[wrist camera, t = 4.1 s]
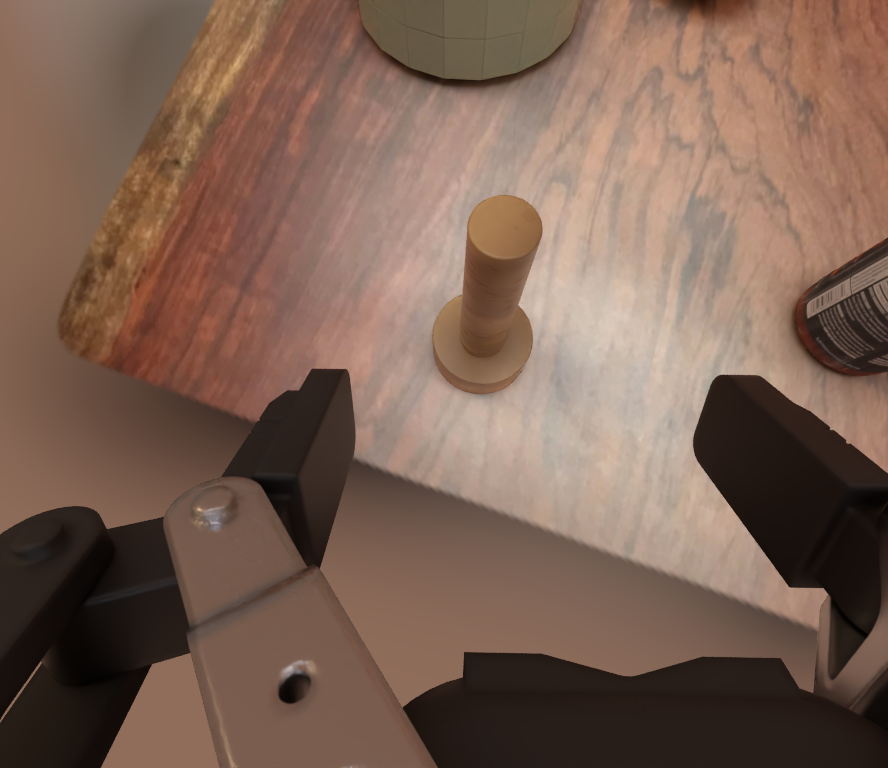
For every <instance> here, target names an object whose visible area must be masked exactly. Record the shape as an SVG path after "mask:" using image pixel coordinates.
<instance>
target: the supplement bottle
mask: <svg viewBox="0 0 888 768" xmlns="http://www.w3.org/2000/svg"><path fill="white" fill-rule="evenodd" d="M796 326H797V327H796V329H797V330H798V334H799V337H800V339H801V341H802V342H803V344H804V345H805V347H806V348H807V350H808V351H810V353H811V354H812V355H813V356H814V357H815V358H816V359H818V361H819V362H821V363H823V364H824V365H826V366H828V367H830V368H832V369H834V370H836V371H839V372H842V373H845V374H850V375H858V376H868V375H875V374H879V373H883V372H888V238H886V239H885V240H883V241H881V242H880V243H878V244H877V245H875V246H873V247H872V248H870V249H869V250H867V251H865V252H864V253H862V254H861V255H859V256H857V257H855V258H854V259H852V260H851V261H849V262H847V263H846V264H845V265H843V266H841V267H840V268H838V269H836V270H834V271H833V272H831V273H830V274H828V275H827V276H825V277H823V278H822V279H821V280H819V281H818V282H817V283H815V284H814V285H812V286H811V287H810V288H809V289H808V290H807V291H806V292H805V293H804V294H803V296H802V297H801V298H800V299H799V301H798V305H797V309H796Z"/></svg>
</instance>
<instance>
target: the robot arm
mask: <svg viewBox="0 0 888 768" xmlns="http://www.w3.org/2000/svg"><path fill="white" fill-rule="evenodd" d="M355 437H356V435H355V421H354V412H353V402H352V393H351V384H350V377H349V373H348V371H347V369H312V370H311V371H310V373H309V374H308V376H307V378H306V380H305V381H304V383H303V385H302V387H301V388H300V390H299V391H290V390H287V391H286V392H285V393H283V394H282V395H280V396H279V397H277V398H276V399H275V400H273V401H272V402H270V403H269V405H268V406H267V408H266V409H265V411H264V412H263V414H262V415H261V417H260V421H257V423H256V425H255V426H254V428H253V429H252V433H251V434H249V435H248V437H247V438H246V440H245V441H244V443H243V444H242V446H241V448H240V449H239V450H238V452H237V454H236V455H235V457H234V458H233V460H232V461H231V463H230V464H229V466H228V467H227V469H226V470H225V472H224V473H223V475H222V477H221V478H217V479H213V480H210V481H206V482H204V483H201V484H199V485H197V486H195V487H193V488H191V489H190V490H188V491H186V492H185V493H183V494H182V495H181V496H180V497H178V498H177V499H176V500H175V501H174V502H173V503H172V504H171V506H170V507H169V509H168V510H167V512H166V514H165V516H164V517H161V518H157V519H153V520H148V521H144V522H139V523H135V524H129V525H125V526H120V527H115V528H111V529H106V527H105V525H104V523H103V521H102V519H101V517H100V515H99V514H98V513H97V512H96V511H95V510H93V509H90V508H87V507H79V506H72V507H63V508H57V509H54V510H50V511H46V512H43V513H40V514H37V515H35V516H32V517H30V518H28V519H26V520H24V521H22V522H20V523H18V524H16V525H14V526H13V527H11V528H9V529H8V530H6V531H5V532H3V533H2V534H0V719H1V717H2V716H3V714H4V713H5V711H6V709H7V708H8V707H9V705H10V704H11V702H12V701H13V700H14V698H15V697H16V695H17V694H18V692H19V691H20V690H21V688H22V687H23V685H24V684H25V683H26V681H27V680H28V678H29V677H30V675H31V673H32V672H33V671H34V670H35V668H36V667H37V666H38V664H39V663H40V661H41V662H42V664H41V665H40V667H39V668H38V670H37V671H36V673H35V674H34V675H33V677H32V678H31V680H30V681H29V683H28V684H27V685H26V687H25V688H24V690H23V691H22V693H21V694H20V696H19V697H18V698H17V700H16V701H15V703H14V704H13V705H12V707H11V708H10V710H9V711H8V713H7V714H6V715H5V717H4V718H3V720H2V721H1V723H0V768H101V766H102V764H103V762H104V760H105V758H106V756H107V754H108V752H109V750H110V748H111V746H112V744H113V742H114V740H115V738H116V736H117V734H118V732H119V730H120V728H121V726H122V724H123V722H124V720H125V718H126V716H127V713H128V712H129V710H130V708H131V706H132V704H133V702H134V700H135V698H136V696H137V694H138V691H139V689H140V687H141V685H142V683H143V681H144V679H145V677H146V675H147V673H148V671H149V669H150V667H151V665H152V664H154V663H157V662H161V661H164V660H167V659H171V658H174V657H178V656H181V655H185V654H188V653H191V657H192V661H193V665H194V668H195V673H196V676H197V680H198V684H199V688H200V692H201V696H202V700H203V704H204V708H205V711H206V715H207V720H208V724H209V727H210V731H211V735H212V739H213V743H214V747H215V751H216V755H217V759H218V762H219V767H220V768H888V473H886V472H885V471H884V470H883V469H882V468H880V467H879V466H878V465H877V464H875V463H874V462H873V461H872V460H870V459H869V458H868V457H867V456H865V455H864V454H863V453H862V452H860V451H859V450H858V449H857V448H855V447H854V446H853V445H852V444H847V443H846V440H845V439H844V438H843V437H842V436H840V435H839V434H838V433H837V432H835V431H834V430H830V427H829V426H828V425H827V424H825V423H824V422H823V421H822V420H820V419H819V418H818V417H817V416H815V415H814V414H813V413H812V412H810V411H808V410H806V409H804V408H803V407H801V406H799V405H797V404H795V403H793V402H792V401H791V400H789V399H788V398H787V397H786V396H784V395H783V394H782V393H781V392H780V391H778V390H777V389H776V388H775V387H773V386H772V385H771V384H770V383H768V382H767V381H766V380H765V379H764V378H762V377H761V376H758V375H719V376H717V377H716V378H715V379H714V380H713V382H712V384H711V386H710V389H709V392H708V395H707V398H706V401H705V404H704V406H703V409H702V412H701V415H700V418H699V421H698V424H697V427H696V430H695V433H694V438H693V448H694V453H695V456H696V459H697V461H698V462H699V464H700V465H701V467H702V468H703V469H704V471H705V472H706V473H707V475H708V476H709V478H710V479H711V480H712V482H713V483H714V484H715V486H716V487H717V489H718V490H719V491H720V493H721V494H722V495H723V497H724V498H725V499H726V501H727V502H728V504H729V505H730V506H731V508H732V509H733V510H734V512H735V513H736V515H737V516H738V517H739V519H740V520H741V521H742V523H743V524H744V526H745V527H746V528H747V530H748V531H749V532H750V534H751V535H752V537H753V538H754V539H755V541H756V542H757V543H758V545H759V546H760V547H761V549H762V550H763V552H764V553H765V554H766V556H767V557H768V558H769V560H770V561H771V563H772V564H773V565H774V567H775V568H776V569H777V571H778V572H779V574H780V575H781V576H782V578H783V579H784V580H785V582H786V583H787V585H788V586H789V587H794V588H824V589H825V590H826V592H827V593H828V596H827V597H826V599H825V600H824V602H823V603H822V605H821V607H820V614H819V627H818V641H817V654H816V667H815V681H814V692H813V693H811V692H808V691H805V690H803V689H799V687H798V686H797V684H796V682H795V681H794V679H793V677H792V676H791V674H790V673H789V671H788V669H787V668H786V666H785V664H784V663H783V661H782V660H781V659H780V658H739V657H738V658H737V657H700V658H697V659H693V660H690V661H687V662H683V663H679V664H676V665H672V666H669V667H665V668H662V669H659V670H655V671H651V672H648V673H645V674H641V675H637V676H632V677H630V676H621V675H617V674H613V673H609V672H606V671H602V670H599V669H595V668H591V667H588V666H584V665H580V664H577V663H573V662H570V661H566V660H562V659H558V658H555V657H551V656H548V655H544V654H527V653H524V654H523V653H473V652H464V669H463V678H460V679H456V680H453V681H449V682H446V683H444V684H441V685H439V686H437V687H435V688H432V689H430V690H428V691H426V692H425V693H423V694H421V695H420V696H419V697H416V698H415V699H413V700H412V701H410V702H409V703H408V704H407V705H405V706H404V707H403V708H402V707H401V705H400V703H399V702H398V700H397V698H396V697H395V695H394V693H393V692H392V690H391V688H390V686H389V684H388V683H387V681H386V679H385V678H384V676H383V674H382V673H381V671H380V669H379V668H378V666H377V664H376V663H375V661H374V659H373V658H372V656H371V654H370V652H369V651H368V649H367V647H366V646H365V644H364V642H363V641H362V639H361V637H360V636H359V634H358V632H357V630H356V629H355V627H354V626H353V624H352V622H351V620H350V619H349V617H348V615H347V614H346V612H345V610H344V608H343V607H342V605H341V604H340V602H339V600H338V598H337V597H336V595H335V593H334V592H333V590H332V588H331V587H330V585H329V583H328V582H327V580H326V578H325V577H324V575H323V573H322V572H321V571H320V566H321V563H322V559H323V556H324V553H325V549H326V546H327V543H328V539H329V536H330V532H331V529H332V526H333V522H334V519H335V516H336V512H337V509H338V506H339V502H340V499H341V495H342V492H343V489H344V485H345V482H346V479H347V475H348V472H349V469H350V465H351V462H352V459H353V455H354V450H355Z"/></svg>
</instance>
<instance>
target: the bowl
mask: <svg viewBox="0 0 888 768" xmlns="http://www.w3.org/2000/svg"><path fill="white" fill-rule="evenodd" d="M356 2H357V6H358V9H359V13H360V17H361V20H362V24H363V26H364V28H365V29H366V30H367V32H368V33H369V34H370V35H371V37H372V38H373V39H374V41H375V42H376V43H377V44H378V46H379V47H380V48H381V49H382V50H383V51H384V52H386V53H387V54H389V55H390V56H392V57H394V58H395V59H397V60H398V61H400V62H401V63H403V64H404V65H406V66H407V67H410V68H412V69H415V70H418V71H421V72H425V73H428V74H431V75H434V76H438V77H441V78H445V79H465V80H481V79H482V80H484V79H489V78H494V77H499V76H504V75H509V74H514V73H517V72H520V71H522V70H524V69H526V68H528V67H530V66H532V65H534V64H536V63H538V62H540V61H542V60H544V59H546V58H548V57H549V56H550V55H551V54H552V53H553V52H554V51H555V50H556V49H557V48H558V47H559V46H560V45H561V44H562V43H563V42H564V41H565V40H566V39H567V38H568V37H569V35H570V34H571V32H572V29H573V27H574V25H575V22H576V20H577V18H578V15H579V13H580V11H581V7H582V4H583V0H356Z"/></svg>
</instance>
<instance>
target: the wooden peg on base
mask: <svg viewBox="0 0 888 768" xmlns="http://www.w3.org/2000/svg"><path fill="white" fill-rule="evenodd" d="M541 237H542V222H541V219H540V217H539V214H538V213H537V211H536V210H535V209H534V208H533V207H532V206H531V205H530V204H529V203H528V202H526V201H525V200H523V199H520V198H518V197H515V196H509V195H499V196H494V197H490V198H488V199H486V200H484V201H482V202H481V203H480V204H479V205H477V206H476V207H475V209H474V210H473V211H472V213H471V215H470V217H469V220H468V226H467V240H466V254H465V267H464V281H463V294H462V295H460V296H458V297H456V298H454V299H453V300H451V301H450V302H449V303H448V304H447V305H446V306H445V307H444V308H443V309H442V310H441V312H440V313H439V315H438V317H437V319H436V321H435V324H434V328H433V350H434V358H435V361H436V364H437V366H438V369H439V370H440V372H441V373H442V375H443V376H444V377H445V378H446V379H447V380H448V381H449V382H450V383H451V384H453V385H454V386H455V387H457V388H459V389H461V390H464V391H467V392H471V393H478V394H484V393H492V392H495V391H498V390H500V389H503V388H504V387H506V386H508V385H509V384H510V383H512V382H513V381H514V380H515V379H516V378H517V377H518V375H519V374H520V372H521V370H522V369H523V367H524V365H525V363H526V361H527V359H528V357H529V355H530V352H531V349H532V342H533V335H532V329H531V325H530V322H529V320H528V318H527V316H526V314H525V313H524V311H523V310H522V309H521V308H520V307H519V306H518V303H519V301H520V298H521V295H522V292H523V289H524V286H525V283H526V280H527V278H528V275H529V272H530V269H531V266H532V263H533V260H534V257H535V254H536V252H537V249H538V246H539V243H540V240H541Z"/></svg>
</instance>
